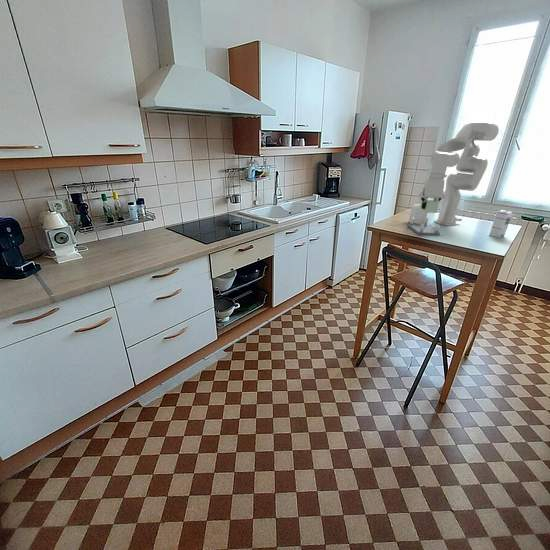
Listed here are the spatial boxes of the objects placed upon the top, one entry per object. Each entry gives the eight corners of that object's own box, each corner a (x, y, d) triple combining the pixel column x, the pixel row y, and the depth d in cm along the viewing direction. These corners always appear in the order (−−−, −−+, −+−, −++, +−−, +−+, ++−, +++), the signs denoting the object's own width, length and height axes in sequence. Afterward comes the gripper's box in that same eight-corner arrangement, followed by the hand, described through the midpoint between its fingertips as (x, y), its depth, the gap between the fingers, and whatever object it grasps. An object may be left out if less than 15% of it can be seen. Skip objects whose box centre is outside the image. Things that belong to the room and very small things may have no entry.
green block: (427, 208, 176) (430, 198, 174) (436, 212, 167) (439, 202, 164) (419, 208, 176) (422, 198, 174) (427, 212, 167) (430, 201, 164)
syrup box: (499, 237, 169) (508, 212, 162) (488, 234, 173) (497, 210, 167) (504, 236, 172) (513, 211, 165) (493, 233, 176) (501, 209, 170)
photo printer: (407, 222, 195) (411, 203, 189) (410, 221, 197) (414, 202, 192) (422, 225, 188) (427, 206, 182) (425, 224, 190) (430, 205, 185)
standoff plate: (426, 227, 185) (429, 217, 182) (439, 235, 169) (442, 225, 167) (407, 226, 185) (409, 217, 182) (418, 234, 170) (421, 224, 167)
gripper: (448, 176, 167) (439, 208, 174) (418, 175, 167) (410, 207, 175) (455, 178, 160) (445, 211, 168) (424, 176, 160) (416, 209, 168)
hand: (428, 208), depth 171 cm, fingers closed on green block, 5 cm apart
